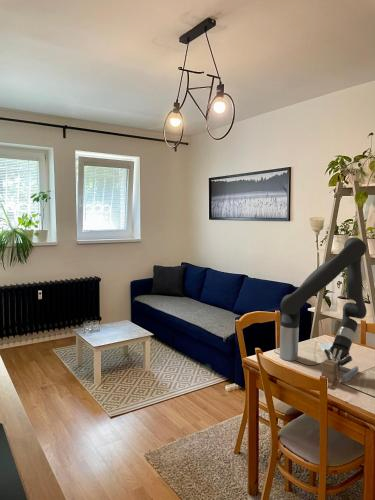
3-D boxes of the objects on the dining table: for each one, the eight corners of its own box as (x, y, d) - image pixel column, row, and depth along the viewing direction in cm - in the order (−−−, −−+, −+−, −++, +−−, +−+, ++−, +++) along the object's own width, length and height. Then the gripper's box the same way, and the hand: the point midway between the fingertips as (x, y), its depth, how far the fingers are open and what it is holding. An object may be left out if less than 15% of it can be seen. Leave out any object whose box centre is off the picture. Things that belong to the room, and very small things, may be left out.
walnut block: (325, 377, 169) (326, 358, 168) (338, 382, 165) (339, 361, 164) (317, 384, 163) (318, 363, 162) (330, 389, 158) (331, 367, 157)
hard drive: (318, 342, 212) (324, 350, 200) (333, 343, 211) (339, 351, 199) (318, 345, 212) (323, 353, 200) (333, 346, 211) (339, 354, 199)
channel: (336, 365, 183) (336, 360, 183) (358, 371, 176) (358, 366, 176) (322, 375, 172) (322, 370, 171) (344, 382, 164) (345, 377, 164)
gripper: (328, 331, 176) (315, 363, 169) (356, 338, 167) (344, 372, 159) (332, 339, 180) (320, 371, 173) (360, 346, 171) (348, 380, 164)
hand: (332, 371), depth 166 cm, fingers closed
